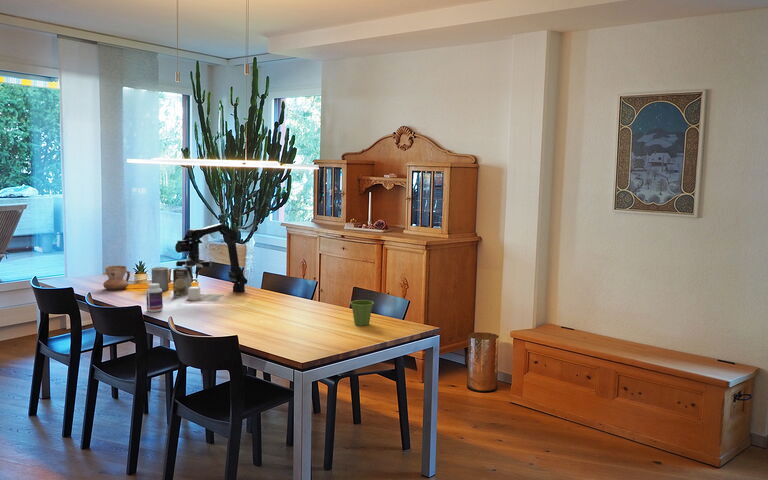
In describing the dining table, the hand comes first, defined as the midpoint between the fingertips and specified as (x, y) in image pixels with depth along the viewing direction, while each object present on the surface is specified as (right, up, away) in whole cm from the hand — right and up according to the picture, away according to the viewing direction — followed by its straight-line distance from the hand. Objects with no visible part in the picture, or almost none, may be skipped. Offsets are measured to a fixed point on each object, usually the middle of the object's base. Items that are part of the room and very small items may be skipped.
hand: (194, 278), depth 378 cm
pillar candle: (-30, -9, +31) cm, 44 cm away
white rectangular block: (0, -12, +1) cm, 12 cm away
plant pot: (+97, -20, -48) cm, 110 cm away
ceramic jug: (-57, -9, +33) cm, 66 cm away
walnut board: (+5, -13, +6) cm, 14 cm away
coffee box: (-12, -11, +16) cm, 23 cm away
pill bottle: (-14, -16, -26) cm, 33 cm away
